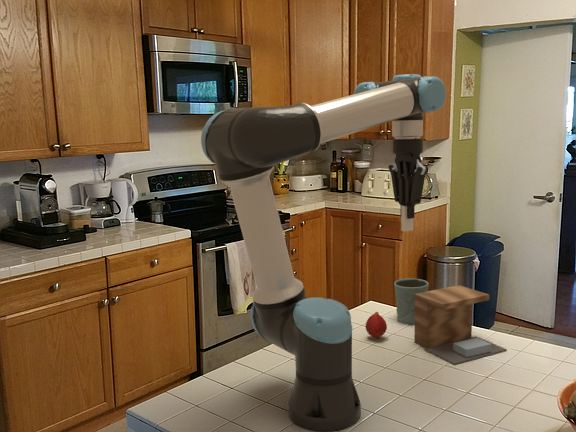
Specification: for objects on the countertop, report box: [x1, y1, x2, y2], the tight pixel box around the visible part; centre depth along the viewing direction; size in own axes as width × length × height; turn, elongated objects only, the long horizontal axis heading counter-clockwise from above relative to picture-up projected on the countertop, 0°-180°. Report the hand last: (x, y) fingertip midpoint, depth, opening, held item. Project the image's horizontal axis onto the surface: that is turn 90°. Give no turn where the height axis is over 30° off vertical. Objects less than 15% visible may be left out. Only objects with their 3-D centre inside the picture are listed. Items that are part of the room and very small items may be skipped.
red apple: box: [365, 311, 388, 340], centre depth 160 cm, size 6×6×8 cm
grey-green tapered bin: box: [393, 278, 430, 326], centre depth 174 cm, size 10×10×12 cm
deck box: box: [453, 337, 491, 357], centre depth 148 cm, size 8×5×2 cm, turn 114°
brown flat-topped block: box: [413, 284, 490, 350], centre depth 154 cm, size 16×11×14 cm
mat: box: [424, 336, 508, 366], centre depth 150 cm, size 18×11×1 cm, turn 117°
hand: (407, 230), depth 147 cm, fingers closed
